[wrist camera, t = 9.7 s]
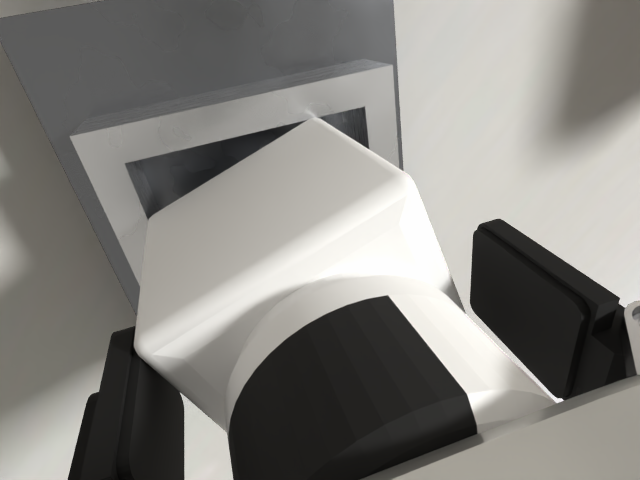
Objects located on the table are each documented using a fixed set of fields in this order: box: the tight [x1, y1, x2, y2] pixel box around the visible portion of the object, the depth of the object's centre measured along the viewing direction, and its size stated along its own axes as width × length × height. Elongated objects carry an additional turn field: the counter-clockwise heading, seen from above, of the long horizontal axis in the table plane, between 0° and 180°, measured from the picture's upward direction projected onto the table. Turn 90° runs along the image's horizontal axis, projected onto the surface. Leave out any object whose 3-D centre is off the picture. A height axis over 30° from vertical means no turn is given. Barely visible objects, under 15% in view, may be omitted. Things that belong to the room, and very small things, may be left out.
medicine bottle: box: [134, 117, 557, 480], centre depth 12 cm, size 7×7×12 cm
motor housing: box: [0, 0, 403, 393], centre depth 19 cm, size 18×14×6 cm
